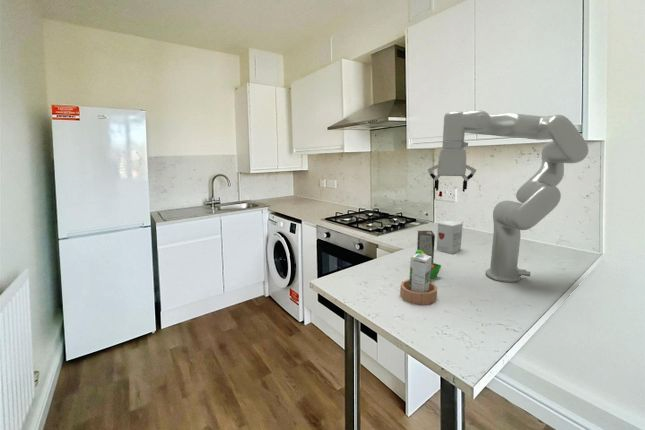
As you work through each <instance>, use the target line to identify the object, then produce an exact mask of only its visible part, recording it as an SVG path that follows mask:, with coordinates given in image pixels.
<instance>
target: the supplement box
mask: <svg viewBox="0 0 645 430" xmlns="http://www.w3.org/2000/svg"><path fill="white" fill-rule="evenodd" d="M462 235H463V222H459V221H453V220H448V219H447V220H444V221H443V220H442V221H439V222H438V223H437V237H436V238H437V239H436V251H438V252H439V251H440V252H443V253H446V254H450V255H453V254H454V253H458V252H461V250H462V238H463V237H462Z"/></svg>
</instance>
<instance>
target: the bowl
mask: <svg viewBox="0 0 645 430" xmlns="http://www.w3.org/2000/svg"><path fill="white" fill-rule="evenodd" d="M399 292H400V293H399V296H400V297H401V298H402V300H404V301H405V302H408V303H410V304H414V305H420V306H422V305H430V304H433V303H435V302H437V294H438V286H437V285H436V284H434V282H431V281H430V288H429V292H425V293H419V292H413V291H410V290H409V279H405V280H404V281H401V283H400V291H399Z"/></svg>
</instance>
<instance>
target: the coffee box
mask: <svg viewBox="0 0 645 430" xmlns="http://www.w3.org/2000/svg"><path fill="white" fill-rule="evenodd" d="M435 239H436V235H435V233H434V232H433V231H432V230H417V242H416V243H417V247H416V248H417V249H416V251H417V250H421V251H423V252H424V253H425V254H426V255H428V256H431V257H432V259H431V262H432V263H434V258H435V257H434V254H435Z"/></svg>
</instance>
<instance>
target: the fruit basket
mask: <svg viewBox="0 0 645 430" xmlns="http://www.w3.org/2000/svg"><path fill="white" fill-rule="evenodd" d="M416 254H424V255H426V254H425V253H424V252H423V251H421V250H417V249H416V251H415V253H414V255H416ZM441 268H442V264H438V263H436V262H433V263H432V262H431V274H430V280H432V279H434V278H437V276H438V274H439V271H440V269H441Z"/></svg>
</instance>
